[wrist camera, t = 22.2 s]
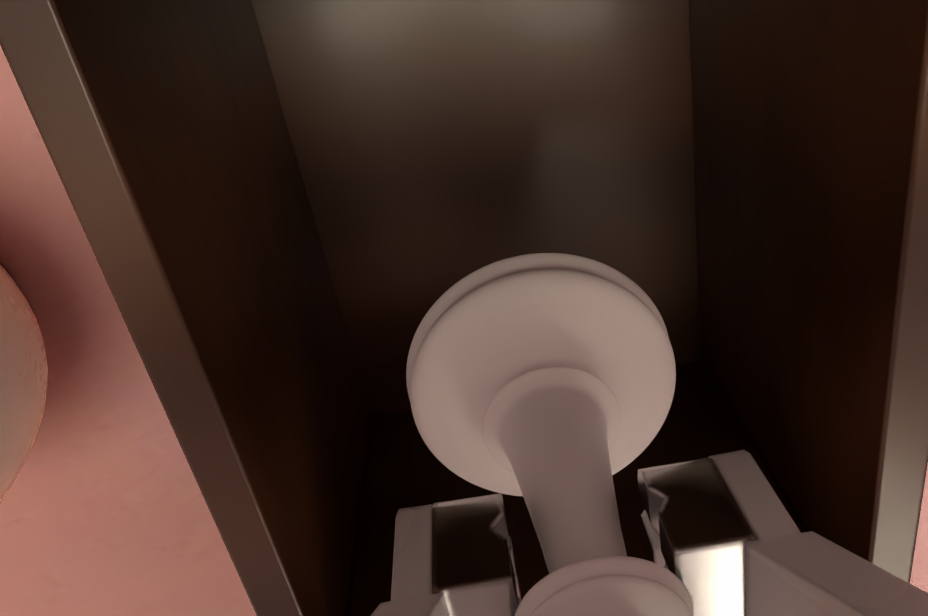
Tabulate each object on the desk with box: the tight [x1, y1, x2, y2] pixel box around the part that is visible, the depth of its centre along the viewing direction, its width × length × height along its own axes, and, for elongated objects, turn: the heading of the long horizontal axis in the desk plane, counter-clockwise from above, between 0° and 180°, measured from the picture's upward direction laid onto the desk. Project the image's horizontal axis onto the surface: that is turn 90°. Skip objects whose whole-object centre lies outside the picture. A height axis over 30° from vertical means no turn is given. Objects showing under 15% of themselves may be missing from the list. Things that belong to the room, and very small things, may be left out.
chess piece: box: [406, 253, 693, 616], centre depth 9 cm, size 5×5×10 cm
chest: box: [0, 0, 928, 616], centre depth 17 cm, size 16×13×11 cm
